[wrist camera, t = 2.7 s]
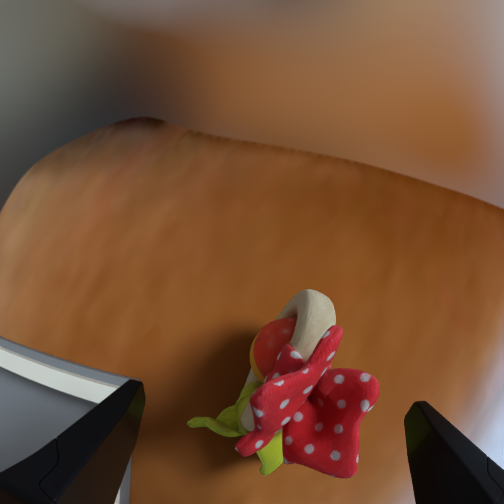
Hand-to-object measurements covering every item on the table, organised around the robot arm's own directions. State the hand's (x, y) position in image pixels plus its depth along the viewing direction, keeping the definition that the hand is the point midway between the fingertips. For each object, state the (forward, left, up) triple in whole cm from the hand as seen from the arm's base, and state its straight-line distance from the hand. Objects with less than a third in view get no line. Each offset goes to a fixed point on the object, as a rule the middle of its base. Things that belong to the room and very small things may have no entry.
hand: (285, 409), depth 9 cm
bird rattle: (+1, 0, -9) cm, 9 cm away
